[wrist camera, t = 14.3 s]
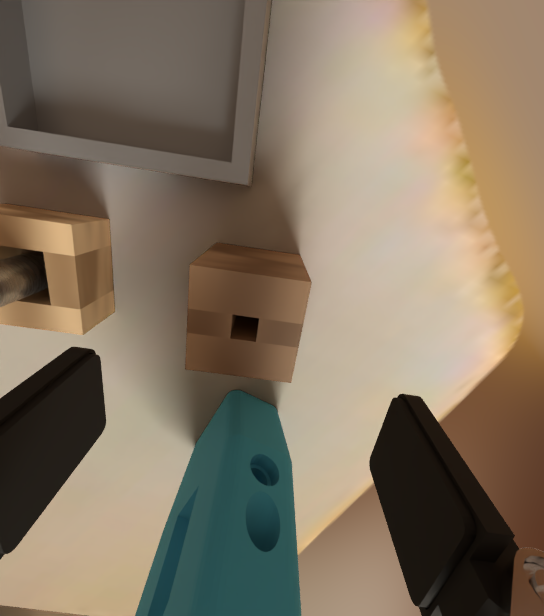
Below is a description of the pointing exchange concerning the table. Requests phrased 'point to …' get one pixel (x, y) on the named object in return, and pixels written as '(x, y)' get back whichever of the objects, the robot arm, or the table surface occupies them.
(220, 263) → the walnut block
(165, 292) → the table surface
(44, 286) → the gauge pin
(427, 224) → the table surface
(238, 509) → the block
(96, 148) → the tray
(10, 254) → the oak block
